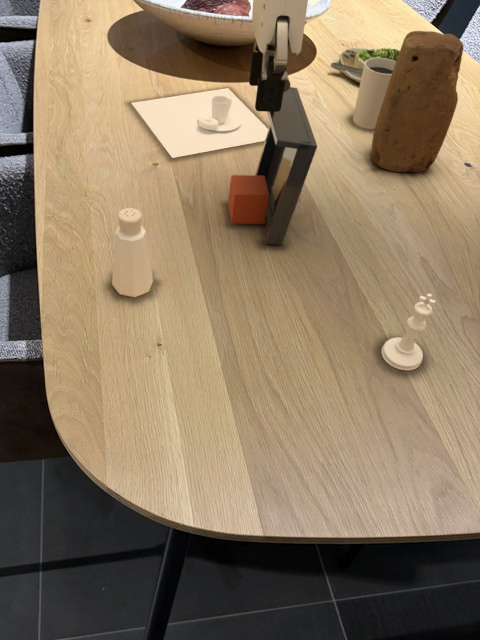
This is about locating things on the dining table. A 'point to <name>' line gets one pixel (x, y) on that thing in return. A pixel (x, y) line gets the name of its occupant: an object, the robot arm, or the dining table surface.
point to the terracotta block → (248, 199)
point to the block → (418, 102)
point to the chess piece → (409, 339)
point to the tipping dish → (285, 161)
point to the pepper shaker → (131, 256)
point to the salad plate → (361, 60)
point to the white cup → (372, 91)
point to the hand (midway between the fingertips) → (264, 96)
